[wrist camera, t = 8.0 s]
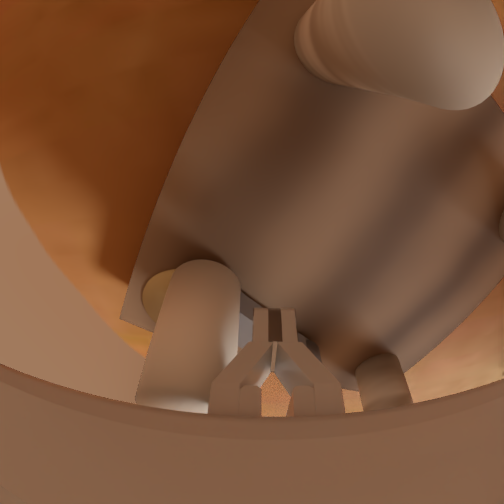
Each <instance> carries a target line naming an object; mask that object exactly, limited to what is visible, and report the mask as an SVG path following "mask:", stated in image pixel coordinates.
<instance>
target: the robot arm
mask: <svg viewBox="0 0 504 504" xmlns="http://www.w3.org/2000/svg"><path fill="white" fill-rule="evenodd" d="M271 371H272V372H274V373H275V374H276V376H277V377H278V379H279V380H280V382H281V383H282V385H283V386H284V387H285V389H286V390H287V392H288V393H289V395H290V396H291V399H290V403H289V407H288V410H287V414H286V417H261V388H260V387H261V385H262V384H263V383H264V381H265V380H266V378H267V377H268V375H269V374H270V372H271ZM0 504H504V379H501V380H498V381H495V382H493V383H490V384H487V385H483V386H480V387H477V388H474V389H471V390H467V391H464V392H460V393H456V394H453V395H449V396H445V397H441V398H437V399H432V400H428V401H423V402H418V403H413V404H408V405H403V406H397V407H391V408H385V409H378V410H371V411H363V412H354V413H345V407H344V401H343V395H342V389H341V383H340V382H339V381H338V380H337V379H336V378H335V377H334V376H333V375H332V374H331V373H330V371H329V370H328V369H327V368H326V367H325V366H324V365H323V364H322V363H321V362H320V361H319V360H318V359H317V358H316V357H315V356H314V354H313V353H312V352H311V351H310V350H309V349H308V348H307V347H306V346H305V345H304V344H303V343H302V342H298V330H297V326H296V311H295V309H294V308H253V333H252V342H248V343H247V344H246V345H245V346H244V347H243V349H242V350H241V351H240V352H239V353H238V354H237V355H236V356H235V358H234V359H233V360H232V361H231V362H230V363H229V364H228V365H227V366H226V367H225V369H224V370H223V371H222V372H221V373H220V374H219V375H218V376H217V377H216V378H215V379H214V380H213V381H212V384H211V391H210V398H209V405H208V413H207V414H204V413H194V412H185V411H177V410H169V409H162V408H156V407H150V406H144V405H138V404H133V403H128V402H122V401H118V400H113V399H109V398H105V397H100V396H96V395H92V394H88V393H85V392H81V391H77V390H74V389H70V388H67V387H63V386H60V385H57V384H54V383H51V382H48V381H45V380H42V379H39V378H36V377H33V376H31V375H28V374H25V373H23V372H20V371H17V370H15V369H12V368H9V367H7V366H5V365H3V364H0Z"/></svg>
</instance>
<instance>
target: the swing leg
mask: <svg viewBox="0 0 504 504" xmlns="http://www.w3.org/2000/svg"><path fill="white" fill-rule="evenodd" d="M253 308H263V307H261V306H260V305H259V304H257V303H256V302H254V301H253V300H252V299H250V298H249V297H248V296H246V295H245V294H243V293H242V292H241V287H240V283H239V280H238V278H237V277H236V275H235V274H234V273H233V272H232V271H231V270H230V269H229V268H227V267H226V266H224V265H222V264H220V263H218V262H215V261H211V260H203V259H200V260H192V261H188V262H186V263H183V264H182V265H180V266H179V267H178V268H177V269H176V270H175V271H174V273H173V274H172V277H171V280H170V283H169V286H168V289H167V292H166V295H165V298H164V301H163V304H162V307H161V310H160V313H159V316H158V319H157V323H156V326H155V329H154V332H153V336H152V339H151V342H150V346H149V349H148V352H147V356H146V359H145V363H144V366H143V370H142V373H141V378H140V381H139V385H138V388H137V392H136V396H135V401H136V404H138V405H144V406H150V407H156V408H162V409H169V410H177V411H185V412H194V413H204V414H207V413H208V405H209V398H210V391H211V384H212V381H213V380H214V379H215V378H216V377H217V376H218V375H219V374H220V373H221V372H222V371H223V370H224V369H225V367H226V366H227V365H228V364H229V363H230V362H231V361H232V360H233V359H234V358H235V356H236V355H237V351H238V347H240V348H242V349H243V347H244V346H245V345H246V344H247V343H248V342H252V333H253ZM298 342H302V343H303V344H304V345H305V346H306V347H307V348H308V349H309V350H310V351H311V352H312V353H313V354H314V356H315V357H316V358H317V359H318V360H319V361H320V362H321V363H322V361H321V356H320V350H319V346H318V345H317V344H316V343H315V342H313V341H310V340H309V339H307V338H306V337H304V336H303V335H301V334H300V333H299V332H298Z"/></svg>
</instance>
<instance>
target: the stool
mask: <svg viewBox="0 0 504 504" xmlns="http://www.w3.org/2000/svg"><path fill="white" fill-rule="evenodd" d="M503 68H504V35H503V30H502V26H501V23H500V20H499V17H498V15H497V12H496V10H495V7H494V5H493V4H492V2H491V0H259V2H258V3H257V5H256V7H255V8H254V10H253V11H252V13H251V14H250V16H249V17H248V19H247V20H246V22H245V24H244V25H243V27H242V29H241V30H240V32H239V33H238V35H237V37H236V38H235V40H234V42H233V43H232V45H231V47H230V49H229V50H228V52H227V54H226V56H225V57H224V59H223V61H222V63H221V64H220V66H219V68H218V70H217V72H216V74H215V75H214V77H213V79H212V81H211V83H210V85H209V87H208V89H207V91H206V93H205V95H204V97H203V98H202V100H201V102H200V104H199V106H198V109H197V111H196V113H195V115H194V117H193V119H192V121H191V123H190V125H189V127H188V129H187V132H186V134H185V136H184V138H183V140H182V143H181V145H180V147H179V149H178V152H177V154H176V156H175V159H174V161H173V163H172V166H171V168H170V170H169V173H168V175H167V178H166V180H165V183H164V185H163V188H162V190H161V193H160V195H159V198H158V200H157V203H156V206H155V208H154V211H153V214H152V216H151V219H150V222H149V225H148V227H147V230H146V233H145V236H144V239H143V242H142V245H141V248H140V251H139V254H138V257H137V260H136V263H135V266H134V269H133V273H132V276H131V279H130V283H129V286H128V289H127V293H126V296H125V300H124V304H123V307H122V311H121V315H120V318H119V319H121V320H124V321H126V322H128V323H131V324H133V325H136V326H138V327H140V328H143V329H145V330H148V331H150V332H154V329H155V326H156V323H157V319H158V316H159V313H160V310H161V307H162V304H163V301H164V298H165V295H166V292H167V289H168V286H169V283H170V280H171V277H172V274H173V273H174V271H175V270H176V269H177V268H178V267H179V266H180V265H182V264H183V263H186V262H188V261H192V260H200V259H203V260H211V261H215V262H218V263H220V264H222V265H224V266H226V267H227V268H229V269H230V270H231V271H232V272H233V273H234V274H235V275H236V277H237V278H238V280H239V283H240V287H241V292H242V293H243V294H245V295H246V296H248V297H249V298H250V299H252V300H253V301H254V302H256V303H257V304H259V305H260V306H261V307H263V308H294V309H295V311H296V326H297V330H298V332H299V333H300V334H301V335H303V336H304V337H306V338H307V339H309V340H310V341H313V342H315V343H316V344H317V345H318V346H319V350H320V356H321V361H322V364H323V365H324V366H325V367H326V368H327V369H328V370H329V371H330V373H331V374H332V375H333V376H334V377H335V378H336V379H337V380H338V381H339V382H340V383H341V388H343V389H348V390H353V391H358V392H359V393H360V397H361V401H362V406H363V410H364V411H371V410H378V409H385V408H391V407H397V406H403V405H408V404H413V400H412V397H411V394H410V391H409V388H408V385H407V382H406V379H405V376H404V373H405V372H406V371H407V370H409V369H410V368H411V367H412V366H414V365H415V364H416V363H417V362H418V361H420V360H421V359H422V358H423V357H424V356H426V355H427V354H428V353H429V352H430V351H431V350H433V349H434V348H435V347H436V346H437V345H438V344H439V343H441V342H442V341H443V340H444V339H445V338H446V337H447V336H448V335H449V334H450V333H451V332H452V331H453V330H455V329H456V328H457V327H458V326H459V325H460V324H461V323H462V322H463V321H464V320H465V319H466V318H467V317H468V316H469V315H470V314H471V313H472V312H473V311H474V310H475V308H476V307H477V306H478V305H479V304H480V303H481V302H482V301H483V300H484V299H485V298H486V297H487V295H488V294H489V293H490V292H491V291H492V290H493V289H494V288H495V286H496V285H497V284H498V283H499V282H500V281H501V279H502V278H503V277H504V113H503V112H502V110H501V109H500V107H499V106H498V105H497V103H496V102H495V100H494V99H493V98H492V96H491V93H492V92H493V91H494V89H495V88H496V86H497V85H498V83H499V80H500V78H501V75H502V71H503ZM241 350H242V348H240V347H238V351H237V354H238V353H239V352H240V351H241ZM271 372H272V371H271Z"/></svg>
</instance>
